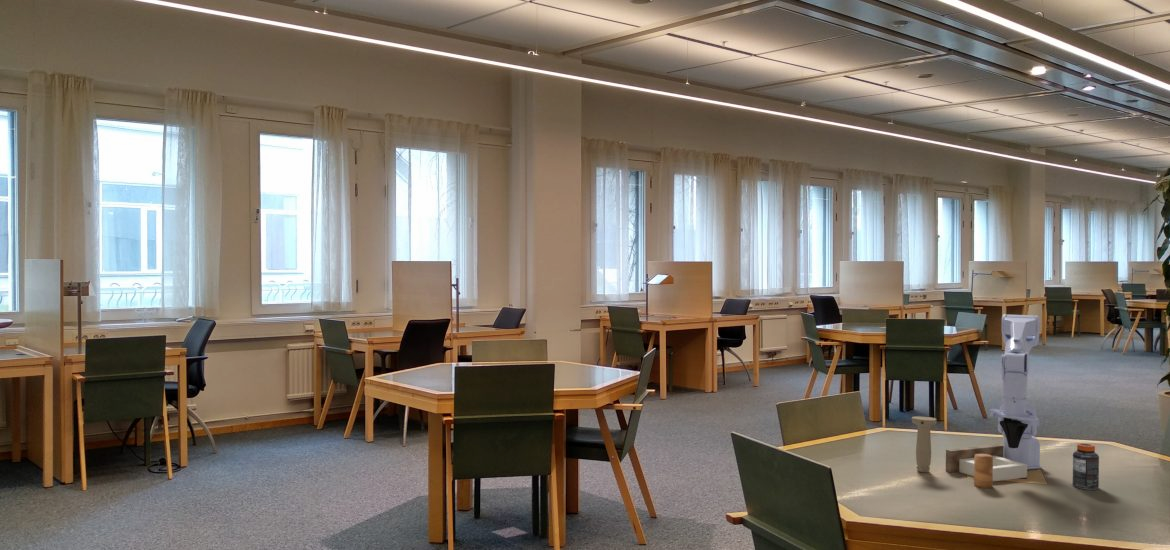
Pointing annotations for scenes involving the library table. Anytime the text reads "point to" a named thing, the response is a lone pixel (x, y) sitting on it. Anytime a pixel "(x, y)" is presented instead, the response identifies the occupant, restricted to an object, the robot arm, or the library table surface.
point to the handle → (923, 442)
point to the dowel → (983, 470)
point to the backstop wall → (969, 455)
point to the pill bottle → (1085, 467)
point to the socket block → (997, 468)
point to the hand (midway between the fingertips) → (1013, 447)
